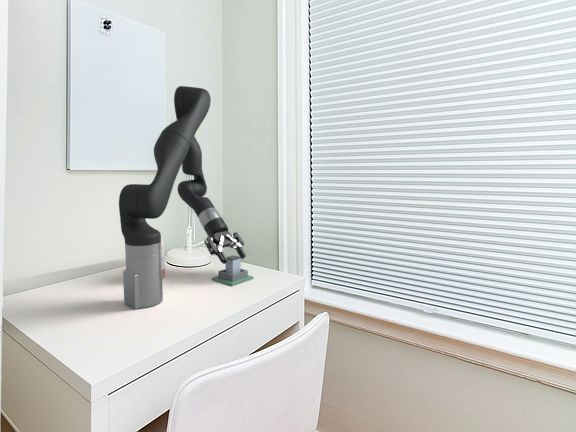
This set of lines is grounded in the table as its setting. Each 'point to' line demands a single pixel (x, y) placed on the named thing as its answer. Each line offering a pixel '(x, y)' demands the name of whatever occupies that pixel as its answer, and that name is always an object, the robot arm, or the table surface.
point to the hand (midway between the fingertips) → (235, 260)
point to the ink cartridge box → (162, 257)
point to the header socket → (232, 277)
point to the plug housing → (233, 264)
